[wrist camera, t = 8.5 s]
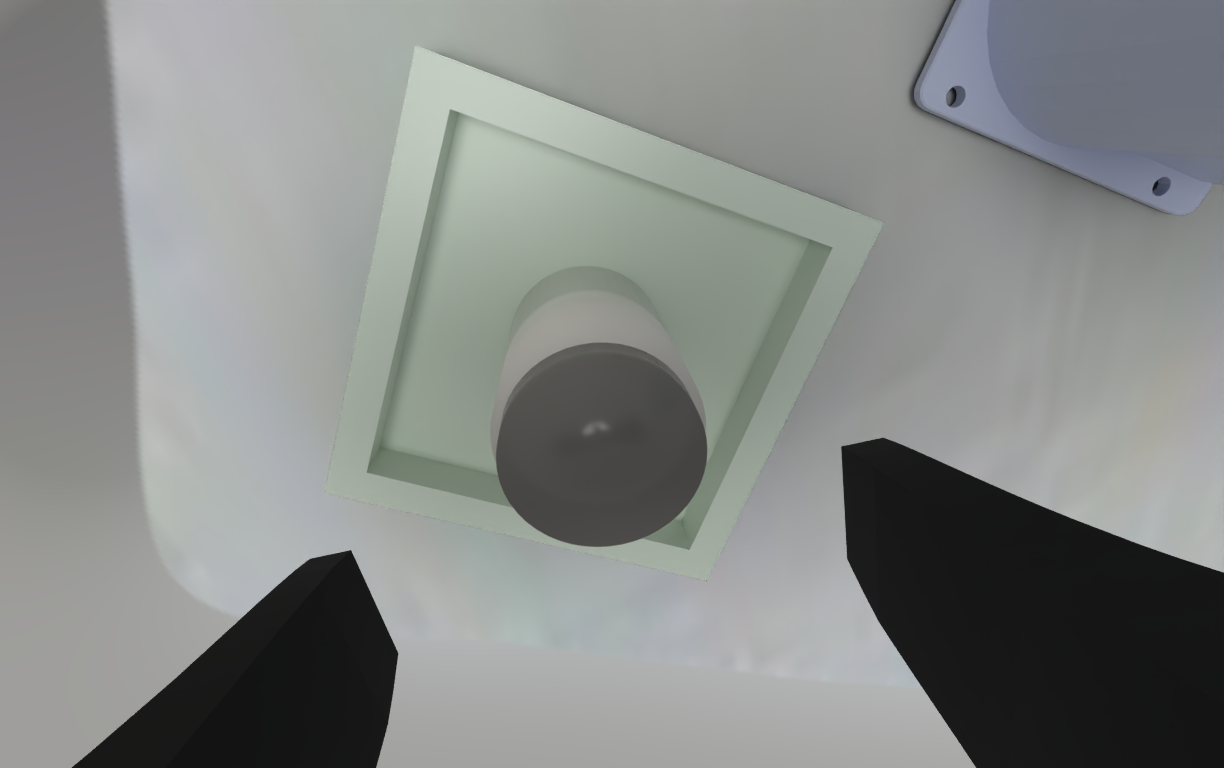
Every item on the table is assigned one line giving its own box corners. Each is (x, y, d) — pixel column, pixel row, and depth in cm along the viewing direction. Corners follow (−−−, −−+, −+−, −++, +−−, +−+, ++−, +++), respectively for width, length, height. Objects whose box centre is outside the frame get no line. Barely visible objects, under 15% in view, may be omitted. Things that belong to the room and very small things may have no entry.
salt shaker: (682, 293, 18) (754, 388, 12) (631, 424, 19) (669, 574, 13) (534, 245, 17) (521, 319, 11) (493, 387, 19) (459, 527, 12)
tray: (851, 211, 18) (884, 222, 16) (694, 542, 22) (706, 581, 20) (432, 53, 16) (415, 45, 14) (346, 457, 20) (324, 493, 18)
